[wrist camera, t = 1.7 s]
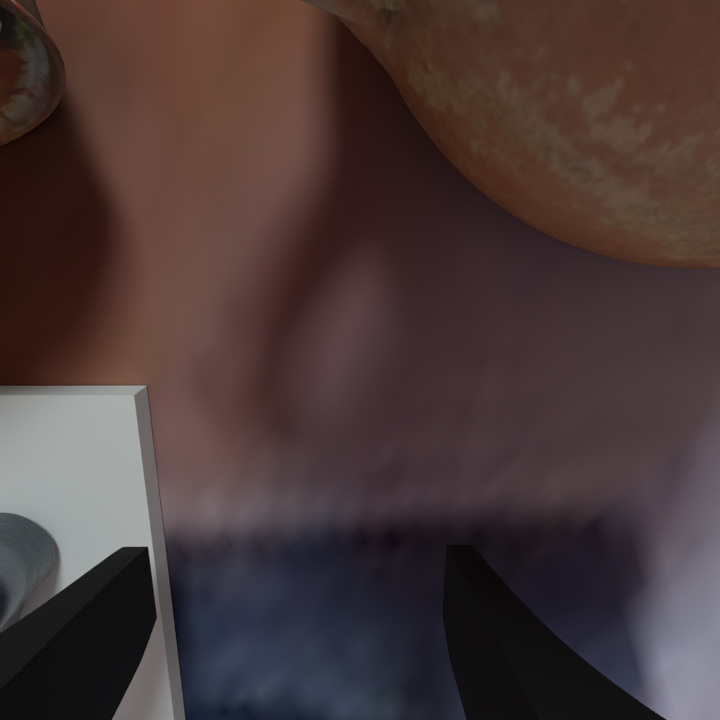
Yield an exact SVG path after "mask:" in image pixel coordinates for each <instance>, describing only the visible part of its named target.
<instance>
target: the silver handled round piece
mask: <svg viewBox="0 0 720 720" xmlns="http://www.w3.org/2000/svg"><path fill="white" fill-rule="evenodd" d="M54 562H55V551H54V547H53V544H52V542H51V540H50V538H49V536H48V535H47V533H46V532H45V531H44V530H43V529H42V528H41V527H40V526H39V525H37V524H36V523H35V522H33V521H31V520H30V519H28V518H25V517H23V516H20V515H17V514H13V513H0V633H1V632H3V631H4V630H6V629H7V628H9V627H10V626H12V625H13V624H14V623H16V622H17V621H18V620H19V618H20V615H21V612H22V609H23V606H24V603H25V601H26V600H27V599H28V597H29V596H30V595H31V594H32V593H33V592H34V591H35V590H36V588H37V587H38V586H39V585H40V584H41V583H42V582H43V580H44V579H45V578H46V577H47V576H48V575H49V573H50V572H51V570H52V568H53V566H54Z"/></svg>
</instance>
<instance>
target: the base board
mask: <svg viewBox="0 0 720 720" xmlns="http://www.w3.org/2000/svg"><path fill="white" fill-rule="evenodd" d="M0 513H13V514H17V515H20V516H23V517H25V518H28V519H30V520H31V521H33V522H35V523H36V524H37V525H39V526H40V527H41V528H42V529H43V530H44V531H45V532H46V533H47V535H48V536H49V538H50V540H51V542H52V544H53V547H54V551H55V562H54V566H53V568H52V570H51V572H50V573H49V575H48V576H47V577H46V578H45V579H44V580H43V582H42V583H41V584H40V585H39V586H38V587H37V588H36V590H35V591H34V592H33V593H32V594H31V595H30V596H29V597H28V599H27V600H26V601H25V603H24V606H23V609H22V612H21V615H20V618H19V620H20V619H22V618H23V617H25V616H26V615H28V614H29V613H31V612H32V611H34V610H35V609H37V608H38V607H40V606H41V605H42V604H44V603H45V602H47V601H48V600H49V599H51V598H52V597H54V596H55V595H56V594H58V593H59V592H60V591H62V590H63V589H65V588H66V587H67V586H69V585H70V584H71V583H73V582H74V581H76V580H77V579H78V578H80V577H81V576H82V575H84V574H85V573H86V572H88V571H89V570H90V569H92V568H93V567H95V566H96V565H97V564H99V563H100V562H101V561H103V560H104V559H106V558H107V557H108V556H110V555H111V554H113V553H114V552H116V551H117V550H119V549H120V548H122V547H148V550H149V557H150V565H151V573H152V581H153V589H154V597H155V605H156V613H157V619H156V622H155V625H154V628H153V631H152V633H151V636H150V639H149V642H148V645H147V647H146V650H145V652H144V655H143V658H142V660H141V663H140V665H139V667H138V669H137V671H136V673H135V675H134V677H133V679H132V681H131V683H130V685H129V687H128V689H127V691H126V693H125V695H124V697H123V699H122V701H121V703H120V705H119V707H118V709H117V711H116V713H115V715H114V717H113V719H112V720H185V711H184V703H183V694H182V686H181V677H180V668H179V660H178V651H177V642H176V634H175V625H174V617H173V608H172V599H171V591H170V582H169V574H168V565H167V556H166V548H165V539H164V530H163V522H162V513H161V505H160V496H159V487H158V479H157V470H156V462H155V453H154V444H153V436H152V427H151V419H150V410H149V401H148V393H147V386H0ZM19 620H18V621H19Z"/></svg>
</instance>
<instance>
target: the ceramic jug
mask: <svg viewBox="0 0 720 720" xmlns="http://www.w3.org/2000/svg"><path fill="white" fill-rule="evenodd" d="M301 1H303V2H305V3H307V4H310V5H312V6H314V7H317V8H319V9H322V10H325V11H327V12H329V13H332V14H335V15H337V17H338V18H339V20H340V21H341V22H342V23H343V24H345V25H346V26H347V27H348V28H349V29H350V31H351V32H352V33H353V34H354V35H355V37H356V38H357V39H358V40H359V41H360V42H361V43H363V44H364V45H365V46H366V47H367V48H368V49H369V50H370V51H371V53H372V54H373V56H374V57H375V58H376V59H377V60H378V62H379V63H380V64H381V65H382V66H383V67H384V68H385V70H386V71H387V72H388V73H389V75H390V76H391V78H392V80H393V81H394V83H395V85H396V87H397V89H398V91H399V93H400V94H401V96H402V98H403V99H404V101H405V103H406V105H407V106H408V108H409V110H410V111H411V112H412V114H413V115H414V117H415V118H416V120H417V121H418V122H419V123H420V125H421V126H422V128H423V129H424V130H425V132H426V133H427V134H428V136H429V137H430V139H431V140H432V141H433V143H434V144H435V145H436V146H437V148H438V149H439V150H440V151H441V153H442V154H443V155H444V156H445V157H446V158H447V159H448V160H449V161H450V162H451V163H452V164H453V165H454V166H455V167H456V169H457V170H458V171H460V172H461V173H462V175H463V176H464V177H466V178H467V179H468V180H469V181H470V182H471V183H472V184H473V185H474V186H475V187H476V188H478V189H479V190H480V191H481V192H483V193H484V194H485V195H486V196H487V197H489V198H490V199H491V200H492V201H494V202H495V203H496V204H497V205H499V206H500V207H502V208H503V209H505V210H506V211H507V212H509V213H510V214H512V215H514V216H515V217H517V218H518V219H519V220H521V221H522V222H524V223H526V224H527V225H529V226H531V227H533V228H535V229H537V230H539V231H540V232H542V233H544V234H546V235H549V236H551V237H553V238H555V239H558V240H560V241H563V242H565V243H567V244H570V245H572V246H575V247H578V248H581V249H583V250H586V251H590V252H593V253H596V254H599V255H602V256H607V257H610V258H614V259H617V260H621V261H627V262H633V263H638V264H646V265H653V266H660V267H670V268H685V269H720V0H301Z"/></svg>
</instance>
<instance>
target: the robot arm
mask: <svg viewBox="0 0 720 720" xmlns="http://www.w3.org/2000/svg"><path fill="white" fill-rule="evenodd" d="M156 619H157V613H156V605H155V597H154V589H153V581H152V573H151V565H150V557H149V550H148V547H122V548H120V549H119V550H117V551H116V552H114V553H113V554H111V555H110V556H108V557H107V558H106V559H104V560H103V561H101V562H100V563H99V564H97V565H96V566H95V567H93V568H92V569H90V570H89V571H88V572H86V573H85V574H84V575H82V576H81V577H80V578H78V579H77V580H76V581H74V582H73V583H71V584H70V585H69V586H67V587H66V588H65V589H63V590H62V591H60V592H59V593H58V594H56V595H55V596H54V597H52V598H51V599H49V600H48V601H47V602H45V603H44V604H42V605H41V606H40V607H38V608H37V609H35V610H34V611H32V612H31V613H29V614H28V615H26V616H25V617H23V618H22V619H20V620H19V621H17V622H16V623H14V624H13V625H12V626H10V627H9V628H7V629H6V630H4V631H3V632H1V633H0V720H112V719H113V717H114V715H115V713H116V711H117V709H118V707H119V705H120V703H121V701H122V699H123V697H124V695H125V693H126V691H127V689H128V687H129V685H130V683H131V681H132V679H133V677H134V675H135V673H136V671H137V669H138V667H139V665H140V663H141V660H142V658H143V655H144V652H145V650H146V647H147V645H148V642H149V639H150V636H151V633H152V631H153V628H154V625H155V622H156ZM443 621H444V627H445V633H446V640H447V645H448V651H449V657H450V661H451V665H452V669H453V672H454V676H455V680H456V683H457V687H458V690H459V694H460V698H461V701H462V705H463V708H464V712H465V715H466V719H467V720H666V719H664V718H663V717H661V716H660V715H658V714H657V713H655V712H654V711H652V710H651V709H649V708H648V707H646V706H645V705H643V704H642V703H641V702H639V701H638V700H637V699H635V698H634V697H632V696H631V695H630V694H628V693H627V692H625V691H624V690H623V689H621V688H620V687H618V686H617V685H616V684H614V683H613V682H612V681H610V680H609V679H608V678H606V677H605V676H604V675H602V674H601V673H600V672H599V671H597V670H596V669H595V668H594V667H593V666H591V665H590V664H589V663H588V662H586V661H585V660H584V659H583V658H582V657H580V656H579V655H578V654H577V653H576V652H574V651H573V650H572V649H571V648H570V647H568V646H567V645H566V644H565V643H564V642H563V641H562V640H561V639H559V638H558V637H557V636H556V635H555V634H554V633H553V632H552V631H551V630H550V629H549V628H548V627H547V626H546V625H545V624H544V623H543V622H541V621H540V619H539V618H538V617H537V616H536V615H535V614H534V613H533V612H532V611H531V610H530V609H529V608H528V607H527V606H526V605H525V604H524V603H523V602H522V601H521V600H520V599H519V598H518V597H517V596H516V595H515V593H514V592H513V591H512V590H511V589H510V588H509V587H508V586H507V585H506V584H505V582H504V581H503V580H502V579H501V578H500V577H499V576H498V574H497V573H496V572H495V571H494V570H493V569H492V568H491V566H490V565H489V564H488V563H487V562H486V560H485V559H484V558H483V557H482V556H481V555H480V553H479V552H478V551H477V550H476V549H475V548H474V547H473V546H472V545H447V548H446V566H445V583H444V600H443Z"/></svg>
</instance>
